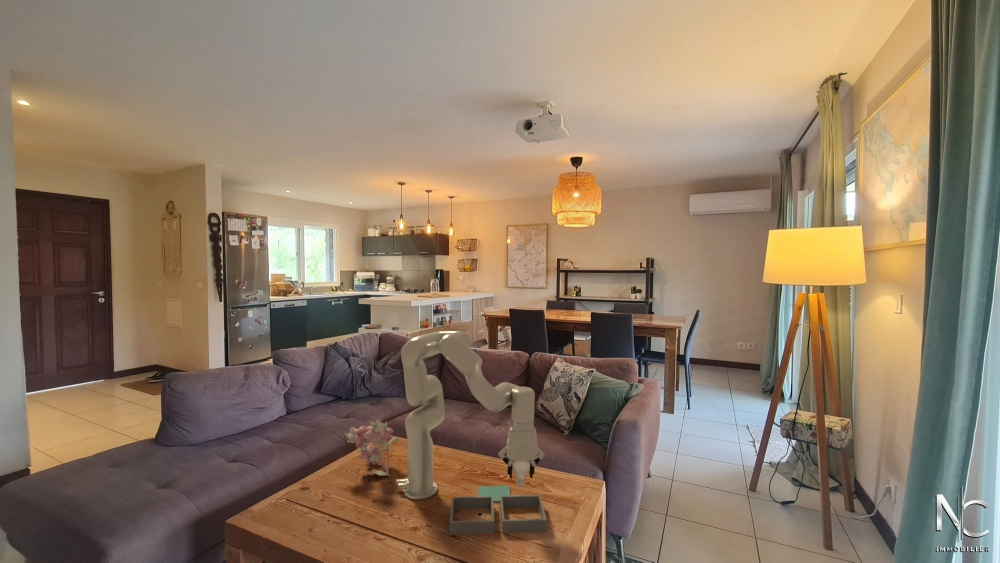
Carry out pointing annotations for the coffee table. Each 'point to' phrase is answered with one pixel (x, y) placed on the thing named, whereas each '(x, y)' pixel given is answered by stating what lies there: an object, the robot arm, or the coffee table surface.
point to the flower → (379, 439)
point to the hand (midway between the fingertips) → (520, 475)
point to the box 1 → (471, 526)
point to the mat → (494, 492)
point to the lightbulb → (521, 470)
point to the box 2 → (523, 524)
